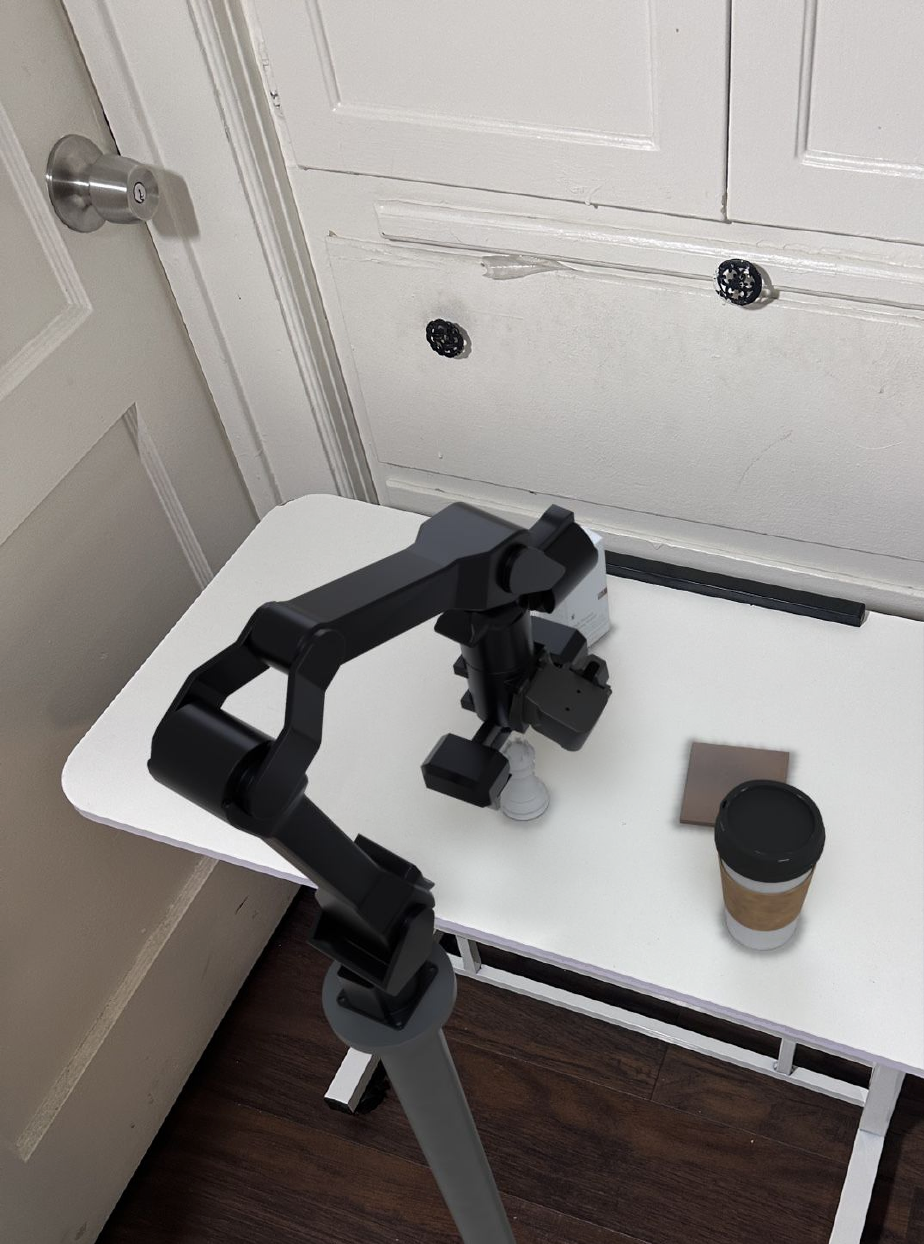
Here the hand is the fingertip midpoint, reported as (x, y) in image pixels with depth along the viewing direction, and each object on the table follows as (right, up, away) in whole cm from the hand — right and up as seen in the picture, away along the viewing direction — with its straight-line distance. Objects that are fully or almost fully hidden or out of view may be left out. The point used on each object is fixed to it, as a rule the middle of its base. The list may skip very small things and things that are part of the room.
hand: (518, 769), depth 108 cm
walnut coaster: (+20, -2, +4) cm, 20 cm away
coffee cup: (+21, -13, -4) cm, 25 cm away
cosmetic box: (+5, +13, +17) cm, 22 cm away
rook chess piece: (0, -3, +4) cm, 5 cm away
